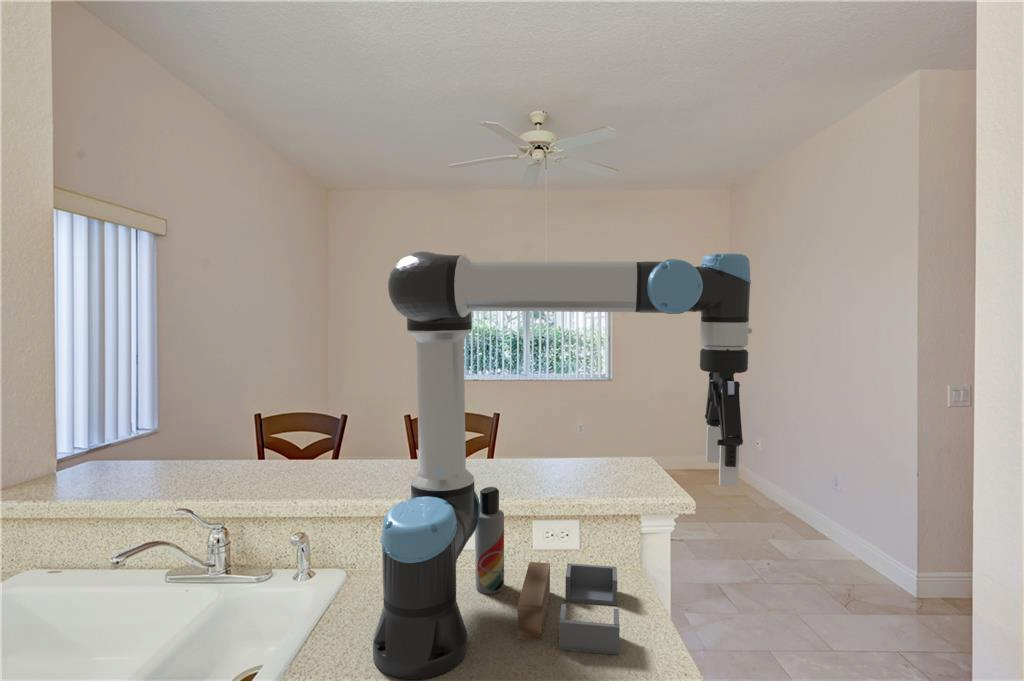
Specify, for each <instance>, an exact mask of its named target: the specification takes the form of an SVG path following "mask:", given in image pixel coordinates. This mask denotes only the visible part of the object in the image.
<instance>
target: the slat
mask: <svg viewBox="0 0 1024 681" xmlns="http://www.w3.org/2000/svg"><path fill="white" fill-rule="evenodd" d="M526 570H527V571H526V574H525V576H524V581H523V584H522V588H521V592H520V596H519V597H518V603H517V638H518V639H527V640H528V639H529V640H539V641H541V640H542V638H543V632H544V627H545V622H546V615H547V610H548V605H549V600H550V592H551V563H550V562H538V561H537V562H535V561H529V563H528V566H527V569H526Z"/></svg>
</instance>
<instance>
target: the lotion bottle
mask: <svg viewBox="0 0 1024 681" xmlns="http://www.w3.org/2000/svg"><path fill="white" fill-rule="evenodd" d="M479 502H480V517H479V522H478V524H477V527H476V530H475V531H474V535H475V536H474V539H475V541H474V542H475V543H474V544H475V546H474V547H475V549H474V550H475V551H474V553H475V555H474V556H475V558H474V559H475V561H474V562H475V565H474V566H475V572H474V573H475V578H474V579H475V589H476V590H477V591H478V592H480V593H482V594H490V595H493V594H497V593H500V592H501V591H502V590H503V589H504V586H505V513H504V511H503V510H502V509H500V490H499V489H498V488H497V487H495V486H487V487H485V488H483V489H481V490H480V491H479Z"/></svg>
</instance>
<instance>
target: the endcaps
mask: <svg viewBox="0 0 1024 681" xmlns="http://www.w3.org/2000/svg"><path fill="white" fill-rule="evenodd" d="M566 564H567V565H566V570H565V599H564V600H565V602H568V603H585V604H593V605H595V604H597V605H607V606H608V605H609V606H618V570H617V569H618V568H617V566H612V565H611V566H608V565H597V564H595V565H594V564H583V563H582V564H581V563H566ZM560 606H561V607H560V613H559V614H560V615H559V621H558V649H559V650H561V651H563V650H566V651H573V652H574V651H575V652H582V653H584V652H585V653H592V654H593V653H594V654H595V653H596V654H604V655H605V654H606V655H614V656H615V655H616V656H620V610H619V608H613V623H603V622H595V621H594V622H592V621H581V620H572V619H571V620H570V619H567V604H565V603H562V604H561V605H560Z"/></svg>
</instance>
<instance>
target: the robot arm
mask: <svg viewBox="0 0 1024 681" xmlns="http://www.w3.org/2000/svg"><path fill="white" fill-rule="evenodd" d="M751 284H752V281H751V261H750V259H749V257H748V256H747V255H745V254H742V253H714V254H706V255H704V256H703V257H702V259H701V264H700V266H694V265H693V264H692V263H690V262H687V261H686V260H682V259H676V258H675V259H673V258H672V259H671V258H670V259H669V258H668V259H666V260H664V261H471V260H470V259H469V258H468V257H467V256H466V255H464V254H463V255H461V254H459V255H458V254H457V255H455V254H442V253H441V254H440V253H434V252H432V251H431V252H430V251H417V252H412V253H410V254H407V255H406V256H404V257H403V258H401V259H400V260H398V262H396V264H395V265H394V266H393V268H392V270H391V272H390V274H389V279H388V282H387V290H388V295H389V299H390V301H391V303H392V305H393V306H394V308H395V309H396V310H397V312H399V314H400V315H402V316H403V317H405V318H406V331H407V334H409V335H410V337H412V338H413V340H415V346H416V347H415V348H416V349H415V350H416V353H415V355H416V357H415V358H416V390H417V391H416V395H417V396H416V398H417V401H416V402H417V436H418V437H417V439H418V442H417V443H418V446H417V447H418V472H416V473H415V475H414V476H413V477H412V478H411V480H410V498H409V499H407V500H406V501H400V502H399V503H397V504H395V505H393V506H392V507H391V508H390V509H389V510H388V511H387V512H386V514H385V516H384V518H383V521H382V530H381V535H380V540H381V541H380V542H381V552H382V583H383V584H382V590H383V592H382V593H383V594H382V595H383V599H382V600H383V608H382V609H381V614H380V617H379V620H378V623H377V626H376V630H375V633H374V636H373V641H372V658H373V659H372V660H373V663H374V664H375V666H376V668H378V669H379V670H380V671H381V672H382V673H384V674H386V675H388V676H390V677H392V678H397V679H403V680H422V679H423V680H424V679H429V678H434V677H437V676H440V675H442V674H445V673H447V672H449V671H450V670H452V669H454V668H455V667H456V666H458V665H459V664H460V663H461V662H462V661H463V659H464V658H465V657H466V654H467V650H468V631H467V628H466V625H465V621H464V619H463V617H462V616H463V615H462V614H461V610H460V607H459V605H458V602H457V563H458V562H457V561H458V559H459V557H460V555H461V553H462V551H463V550H464V548H465V547H466V545H467V543H468V541H469V539H471V537H472V536H473V535H474V534H475V530H476V527H477V524H478V522H479V517H480V498H479V496H478V494H477V492H476V490H475V477H474V475H473V473H471V472H470V471H469V470H468V469H467V454H466V453H467V452H466V449H467V448H466V405H465V404H466V403H465V402H466V400H465V395H466V394H465V392H466V391H465V341H464V340H465V339H466V338H467V337H468V335H470V333H471V332H473V328H472V327H473V326H472V324H473V323H472V322H473V321H472V320H473V315H472V314H473V313H472V312H552V313H553V312H558V313H559V312H561V313H562V312H563V313H565V312H567V313H570V312H572V313H574V312H576V313H577V312H579V313H580V312H582V313H642V314H643V313H645V314H653V313H654V314H667V315H680V314H684V313H686V312H687V313H688V312H689V313H690V312H691V313H696V312H698V313H700V326H699V328H700V329H699V334H700V335H699V337H700V338H699V344H700V345H701V346H703V348H701V350H700V351H699V369H700V370H701V371H702V372H706V373H708V388H707V389H708V390H707V397H706V406H705V414H704V418H705V420H706V425H707V426H706V449H705V450H706V453H705V456H706V457H705V459H706V460H705V461H706V463H712V464H713V463H718V464H719V467H718V468H719V471H718V474H719V475H718V478H719V479H718V485H719V486H720V487H735V488H736V487H739V468H740V467H739V466H740V465H739V464H740V463H739V462H740V461H739V459H740V446H742V445H743V444H744V439H743V430H742V428H743V426H742V418H741V416H742V415H741V414H742V413H741V401H740V400H741V399H740V388H741V384H740V382H739V381H738V380H737V381H735V374H741V373H743V374H744V373H746V372H747V371H748V370H749V351H748V350H747V349H745V348H746V347H748V345H749V335H750V334H752V333H753V328H752V327H749V321H750V319H749V318H750V298H751V297H750V296H751V294H750V293H751Z"/></svg>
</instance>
